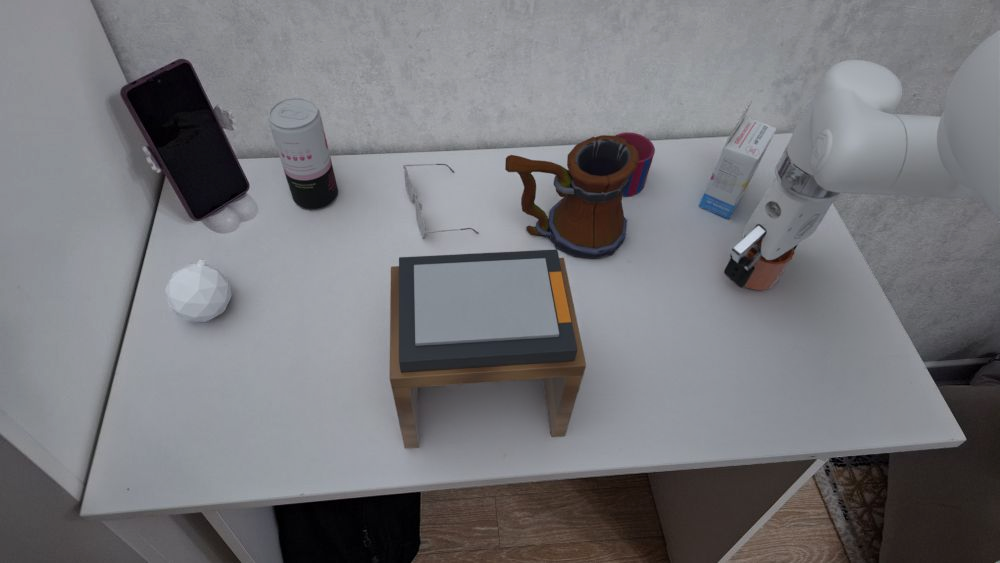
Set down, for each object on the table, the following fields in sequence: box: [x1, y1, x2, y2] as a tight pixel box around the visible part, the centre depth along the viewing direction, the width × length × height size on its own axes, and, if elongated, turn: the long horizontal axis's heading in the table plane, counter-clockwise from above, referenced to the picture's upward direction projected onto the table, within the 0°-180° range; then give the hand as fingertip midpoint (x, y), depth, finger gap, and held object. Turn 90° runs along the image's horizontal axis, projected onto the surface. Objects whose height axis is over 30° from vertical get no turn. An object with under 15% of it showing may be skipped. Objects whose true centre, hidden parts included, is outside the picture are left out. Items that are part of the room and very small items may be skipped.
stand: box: [389, 257, 587, 449], centre depth 66 cm, size 18×13×16 cm
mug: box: [504, 134, 640, 259], centre depth 83 cm, size 18×12×15 cm, turn 95°
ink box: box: [698, 98, 777, 220], centre depth 88 cm, size 8×5×15 cm, turn 147°
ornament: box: [164, 259, 233, 323], centre depth 75 cm, size 7×7×8 cm
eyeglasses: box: [402, 163, 479, 240], centre depth 89 cm, size 14×8×4 cm, turn 18°
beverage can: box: [267, 96, 339, 211], centre depth 85 cm, size 6×7×15 cm
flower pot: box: [744, 240, 796, 291], centre depth 83 cm, size 6×6×6 cm
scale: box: [398, 248, 578, 373], centre depth 59 cm, size 16×12×2 cm
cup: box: [614, 132, 656, 197], centre depth 93 cm, size 7×10×7 cm
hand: (757, 263), depth 84 cm, fingers open, 9 cm apart
